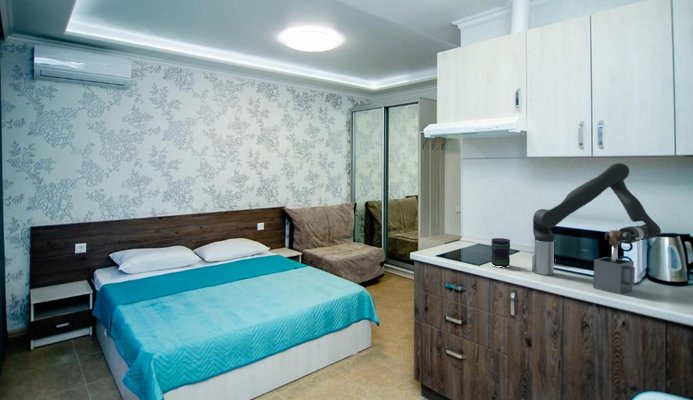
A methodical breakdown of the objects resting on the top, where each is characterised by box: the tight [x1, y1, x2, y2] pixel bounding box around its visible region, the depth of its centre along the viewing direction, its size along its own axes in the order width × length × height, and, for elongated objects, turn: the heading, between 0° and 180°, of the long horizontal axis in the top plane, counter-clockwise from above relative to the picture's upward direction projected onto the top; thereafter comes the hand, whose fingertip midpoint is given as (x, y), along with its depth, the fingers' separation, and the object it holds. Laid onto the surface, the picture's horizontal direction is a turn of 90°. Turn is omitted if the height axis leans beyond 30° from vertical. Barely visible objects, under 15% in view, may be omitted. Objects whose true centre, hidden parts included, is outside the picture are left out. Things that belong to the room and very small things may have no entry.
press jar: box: [592, 256, 636, 295], centre depth 175 cm, size 14×11×13 cm
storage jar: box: [490, 237, 511, 267], centre depth 220 cm, size 10×10×15 cm
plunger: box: [608, 229, 621, 263], centre depth 176 cm, size 9×9×22 cm
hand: (611, 238), depth 174 cm, fingers closed on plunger, 4 cm apart
